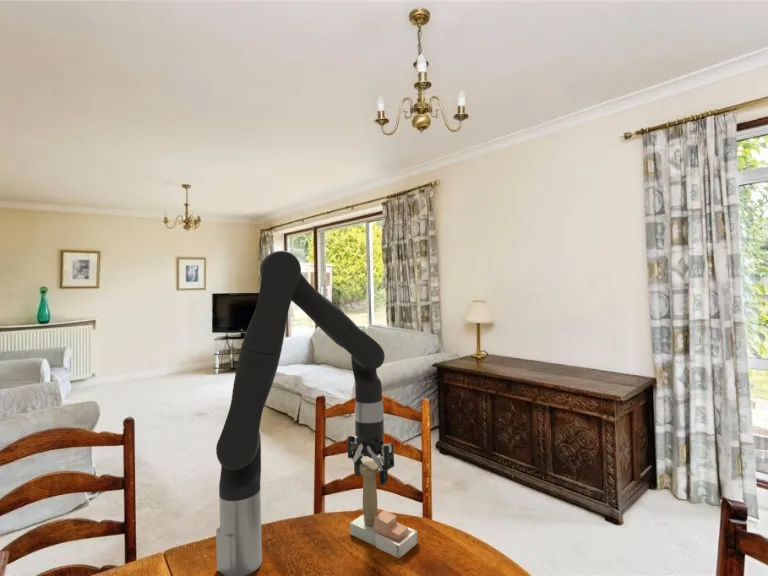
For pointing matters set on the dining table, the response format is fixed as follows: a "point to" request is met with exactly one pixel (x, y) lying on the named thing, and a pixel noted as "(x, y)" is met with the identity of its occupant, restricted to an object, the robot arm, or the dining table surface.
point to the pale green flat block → (363, 530)
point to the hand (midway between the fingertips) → (370, 479)
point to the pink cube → (384, 522)
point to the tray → (393, 546)
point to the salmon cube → (397, 532)
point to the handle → (369, 491)
